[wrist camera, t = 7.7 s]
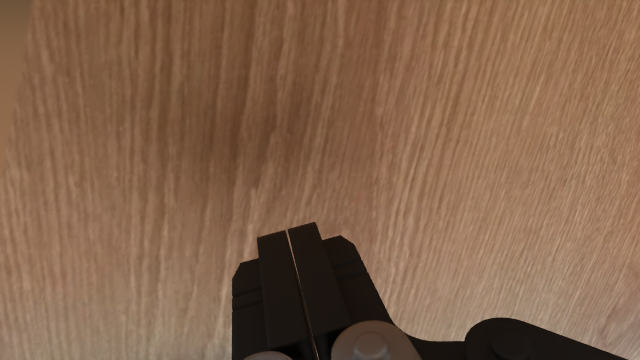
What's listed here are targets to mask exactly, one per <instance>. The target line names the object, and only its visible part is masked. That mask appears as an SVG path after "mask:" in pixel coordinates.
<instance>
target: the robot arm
mask: <svg viewBox="0 0 640 360" xmlns="http://www.w3.org/2000/svg"><path fill="white" fill-rule="evenodd" d="M288 233H289V238H290V242H291V246H292V250H293V254H294V259H295V263H296V267H297V271H298V274H297V271H296V267H295V263H294V260H293V256H292V253H291V249H290V245H289V242H288V238H287V234H286V231H285V230H283V231H280V232H276V233H272V234H269V235H265V236H261V237H257V244H258V254H259V258H257V259H253V260H250V261H246V262H243V263H240V265H239V267H238V269H237V271H236V273H235V275H234V277H233V278H232V296H233V298H232V309H233V312H232V360H318V357H319V360H627V359H625V358H622V357H619V356H616V355H614V354H611V353H608V352H606V351H603V350H600V349H597V348H595V347H592V346H589V345H586V344H584V343H581V342H578V341H575V340H573V339H570V338H567V337H565V336H562V335H559V334H556V333H554V332H551V331H548V330H545V329H543V328H540V327H537V326H535V325H532V324H529V323H526V322H523V321H520V320H517V319H511V318H491V319H487V320H484V321H481V322H479V323H477V324H476V325H474V326H473V327H472V328H471V329H470V330H469V332H468V333H467V335H466V337H465V341H442V342H437V341H426V340H421V339H418V338H414V337H412V336H410V335H408V334H406V333H405V332H403V331H402V330H401V329H399V328H398V327H397V326H396V325H395V324H394V323H393V321H392V320H391V318H390V316H389V314H388V312H387V310H386V308H385V306H384V304H383V302H382V300H381V298H380V296H379V294H378V292H377V290H376V288H375V286H374V284H373V282H372V280H371V278H370V276H369V274H368V273H367V269H366V267H365V265H364V263H363V261H362V260H361V257H360V255H359V253H358V251H357V249H356V247H355V245H354V244H353V243H351V242H350V241H348V240H347V239H345V238H344V237H342V236H341V235H340V236H336V237H332V238H329V239H325V240H322V239H321V236H320V233H319V231H318V228H317V225H316V223H315V222H312V223H309V224H305V225H301V226H298V227H294V228H290V229H288ZM298 276H299V278H298ZM299 280H300V282H299ZM300 284H301V286H300ZM301 288H302V290H301ZM302 293H303V294H302ZM303 297H304V298H303ZM304 301H305V302H304ZM305 305H306V306H305ZM308 318H309V319H308ZM309 322H310V323H309ZM312 335H313V336H312ZM313 339H314V340H313ZM314 343H315V344H314ZM315 346H316V348H315ZM316 350H317V353H318V357H317V353H316Z"/></svg>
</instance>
